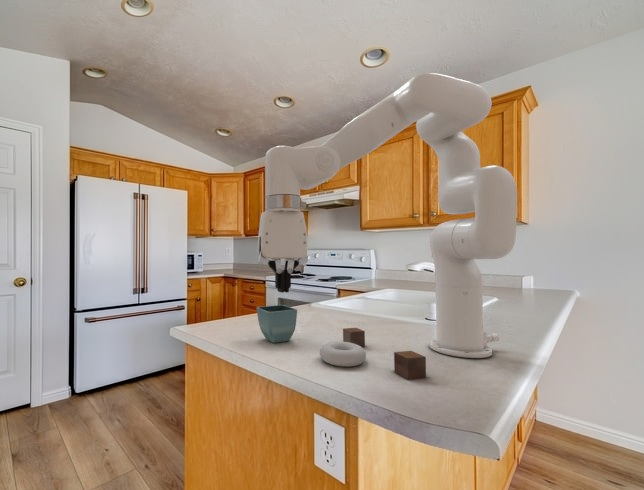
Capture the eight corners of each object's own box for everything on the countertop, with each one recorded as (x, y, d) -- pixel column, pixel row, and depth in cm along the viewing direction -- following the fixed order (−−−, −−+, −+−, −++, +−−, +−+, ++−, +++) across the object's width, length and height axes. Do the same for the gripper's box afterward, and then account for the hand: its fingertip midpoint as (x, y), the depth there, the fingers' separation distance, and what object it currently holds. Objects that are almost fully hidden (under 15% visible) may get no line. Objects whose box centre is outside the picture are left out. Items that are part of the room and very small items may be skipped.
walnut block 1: (356, 342, 85) (356, 327, 85) (365, 346, 81) (364, 331, 81) (343, 343, 84) (342, 328, 84) (350, 347, 80) (350, 332, 80)
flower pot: (269, 346, 83) (268, 311, 83) (256, 338, 91) (255, 306, 91) (298, 342, 86) (298, 309, 86) (283, 334, 94) (283, 304, 94)
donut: (319, 368, 67) (370, 370, 65) (319, 351, 67) (369, 353, 65) (319, 353, 77) (362, 354, 75) (318, 339, 77) (362, 340, 75)
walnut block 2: (411, 370, 65) (411, 350, 65) (426, 377, 61) (425, 356, 61) (394, 372, 64) (393, 352, 64) (408, 379, 60) (407, 358, 60)
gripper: (308, 209, 74) (309, 289, 73) (245, 207, 71) (245, 290, 70) (322, 204, 66) (323, 292, 66) (252, 202, 63) (252, 294, 63)
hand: (283, 291), depth 68 cm, fingers closed
